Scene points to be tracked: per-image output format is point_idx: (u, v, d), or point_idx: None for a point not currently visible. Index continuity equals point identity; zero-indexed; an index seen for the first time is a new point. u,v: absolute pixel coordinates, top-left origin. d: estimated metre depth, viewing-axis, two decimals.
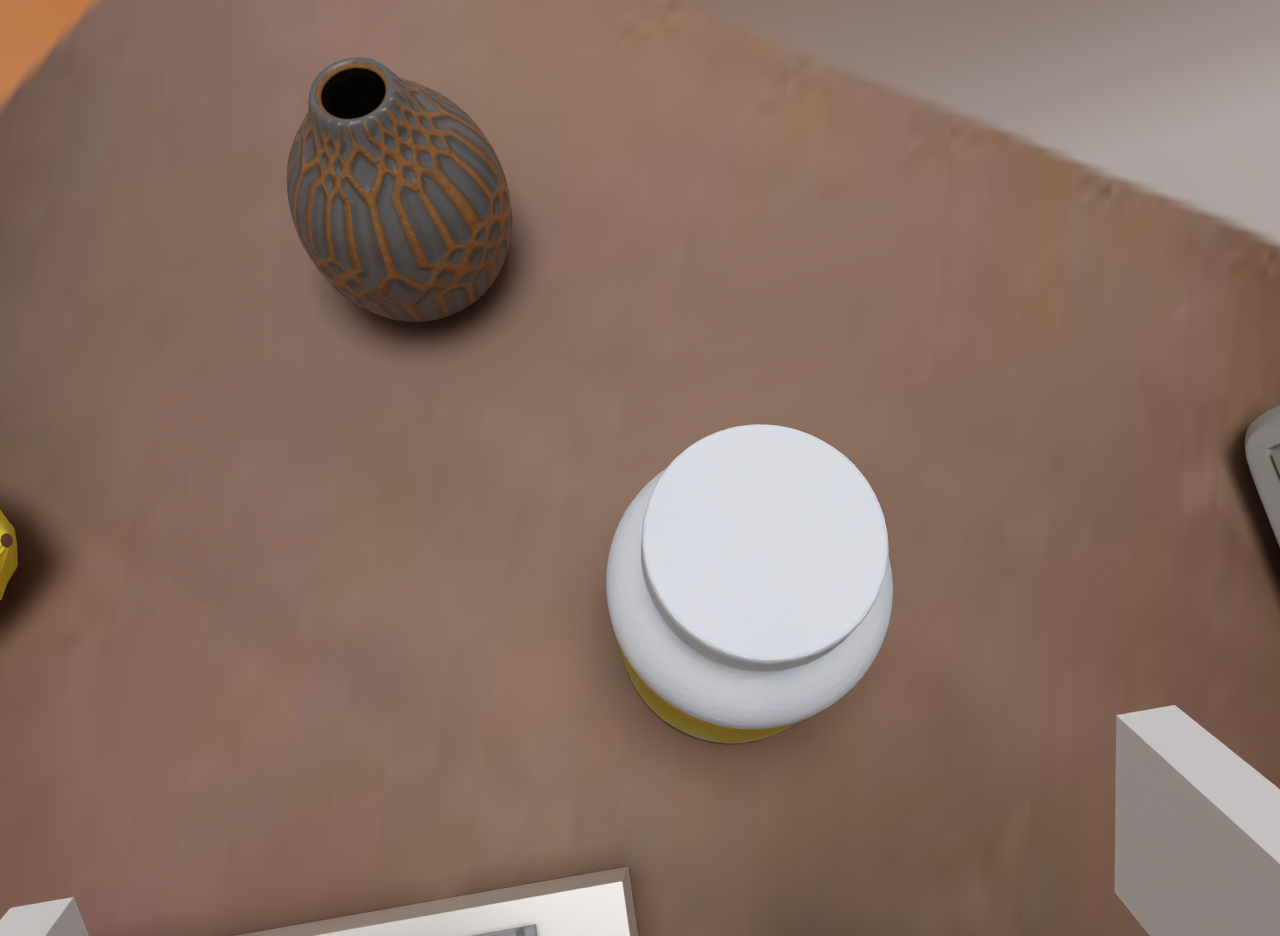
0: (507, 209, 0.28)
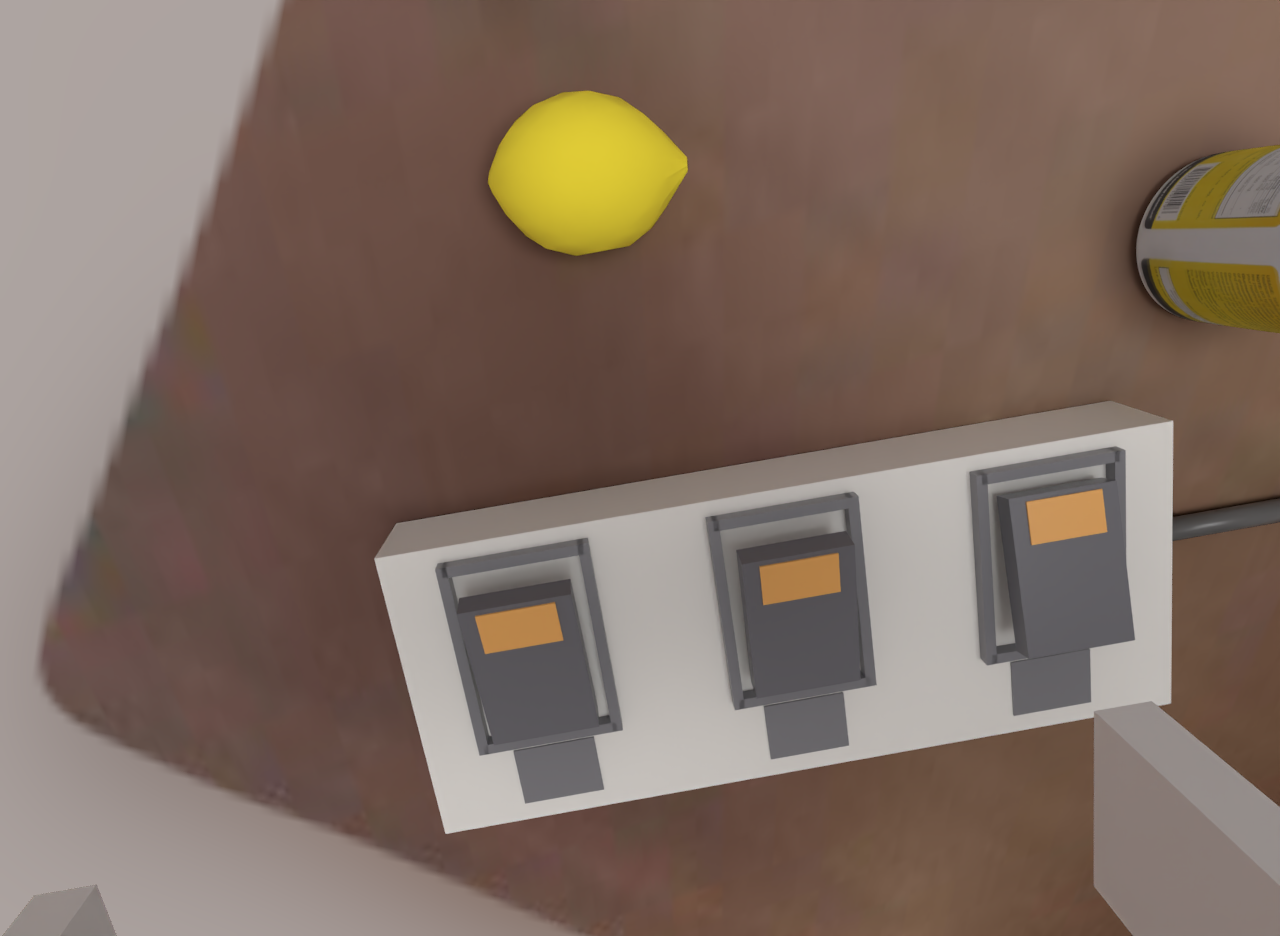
0: None
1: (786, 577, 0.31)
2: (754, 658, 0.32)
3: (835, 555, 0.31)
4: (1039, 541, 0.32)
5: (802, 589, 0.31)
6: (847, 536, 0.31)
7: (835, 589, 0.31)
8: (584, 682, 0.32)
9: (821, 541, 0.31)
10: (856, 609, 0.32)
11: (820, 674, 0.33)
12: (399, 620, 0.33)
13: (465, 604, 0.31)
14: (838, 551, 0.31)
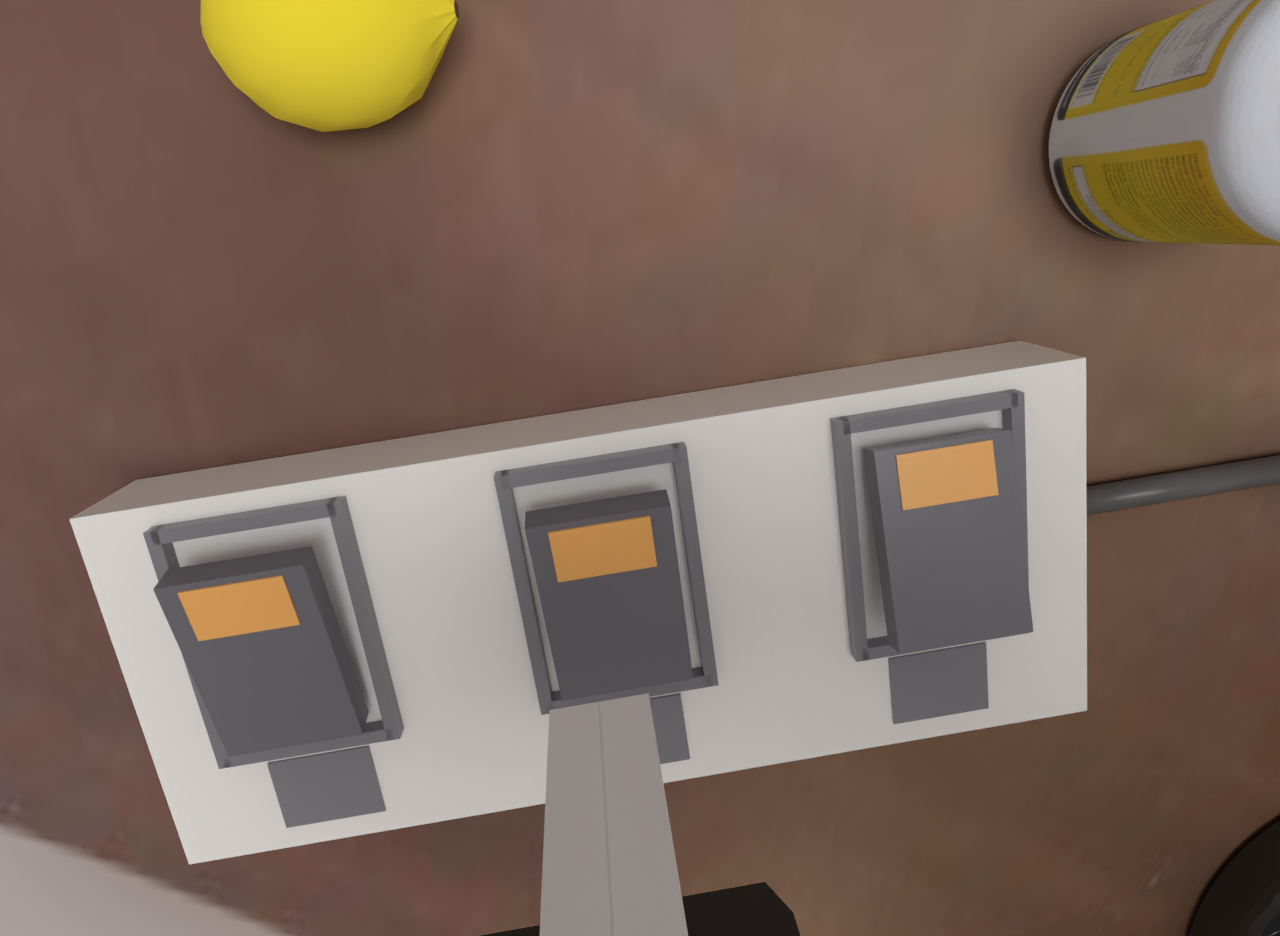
0: None
1: (584, 546, 0.24)
2: (553, 650, 0.25)
3: (646, 519, 0.24)
4: (912, 505, 0.25)
5: (607, 562, 0.24)
6: (665, 495, 0.24)
7: (649, 563, 0.24)
8: (336, 678, 0.25)
9: (631, 502, 0.24)
10: (680, 589, 0.25)
11: (641, 671, 0.26)
12: (108, 598, 0.26)
13: (171, 576, 0.24)
14: (649, 513, 0.24)
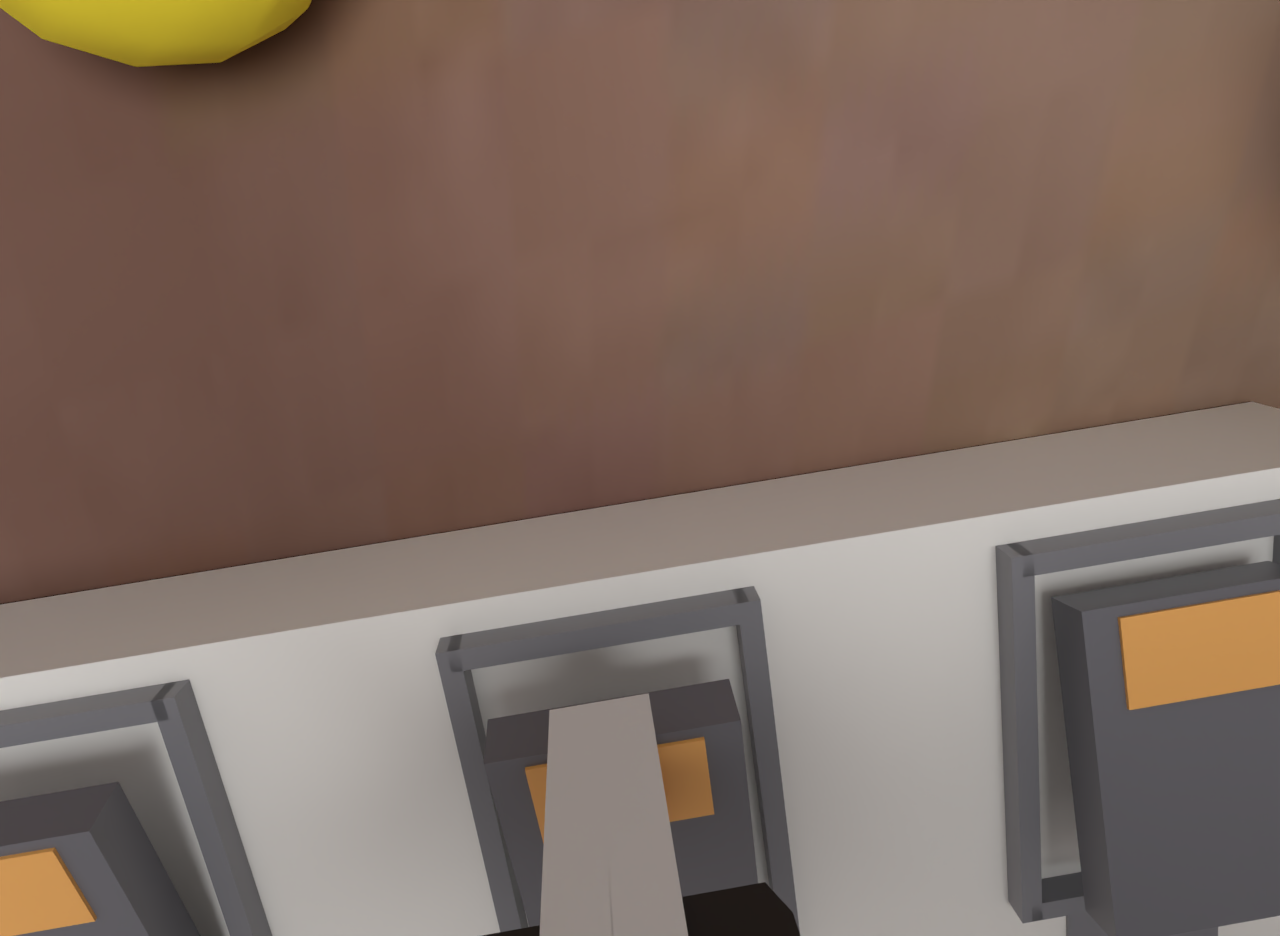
0: None
1: None
2: None
3: (698, 742, 0.14)
4: (1145, 700, 0.15)
5: None
6: (729, 694, 0.14)
7: (701, 810, 0.14)
8: None
9: (670, 707, 0.14)
10: (751, 845, 0.15)
11: None
12: None
13: None
14: (704, 733, 0.14)
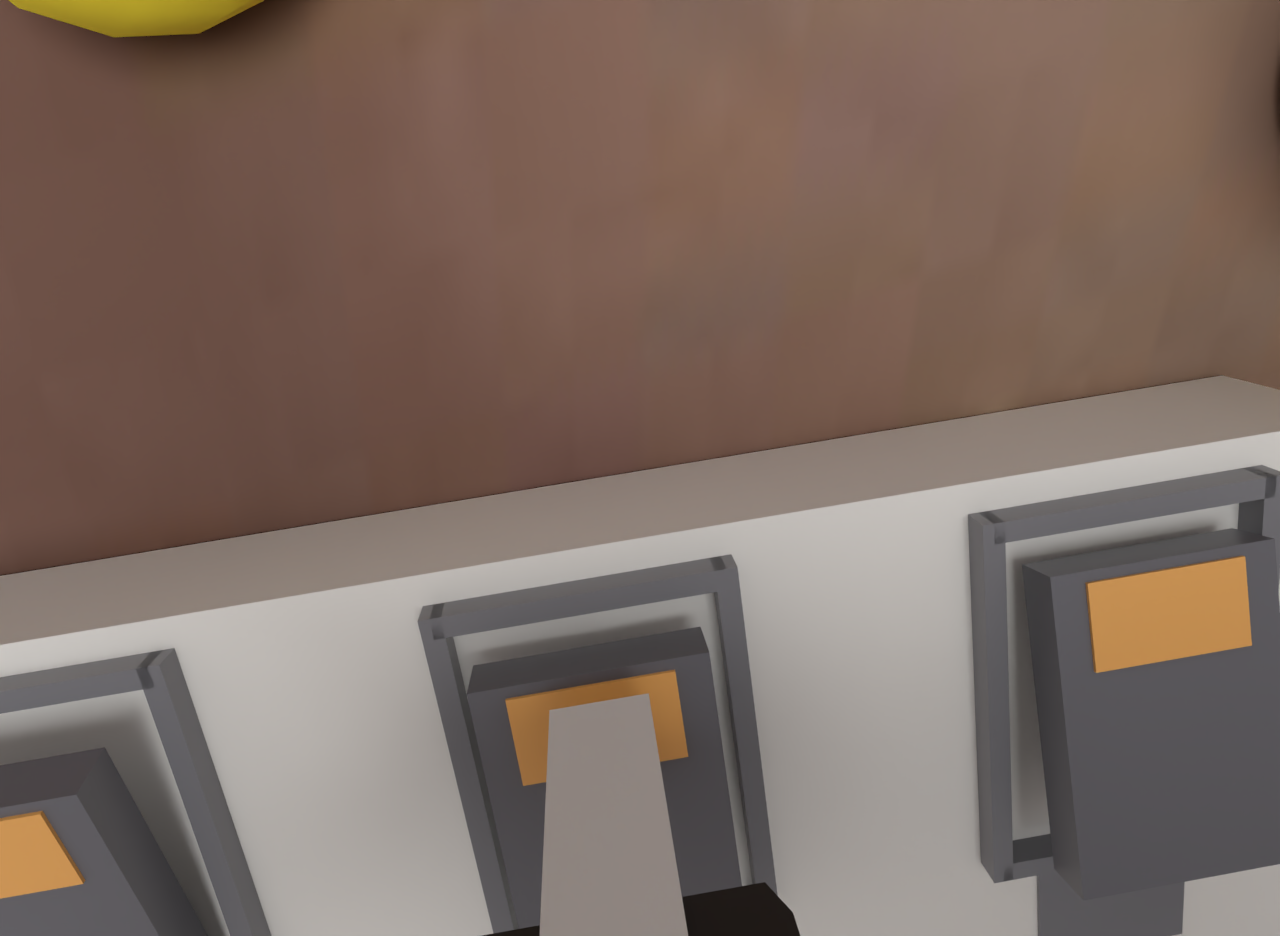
0: None
1: None
2: (517, 903, 0.15)
3: (669, 675, 0.14)
4: (1111, 664, 0.15)
5: None
6: (699, 636, 0.15)
7: (675, 751, 0.15)
8: None
9: (644, 648, 0.15)
10: (727, 796, 0.15)
11: None
12: None
13: None
14: (674, 666, 0.14)
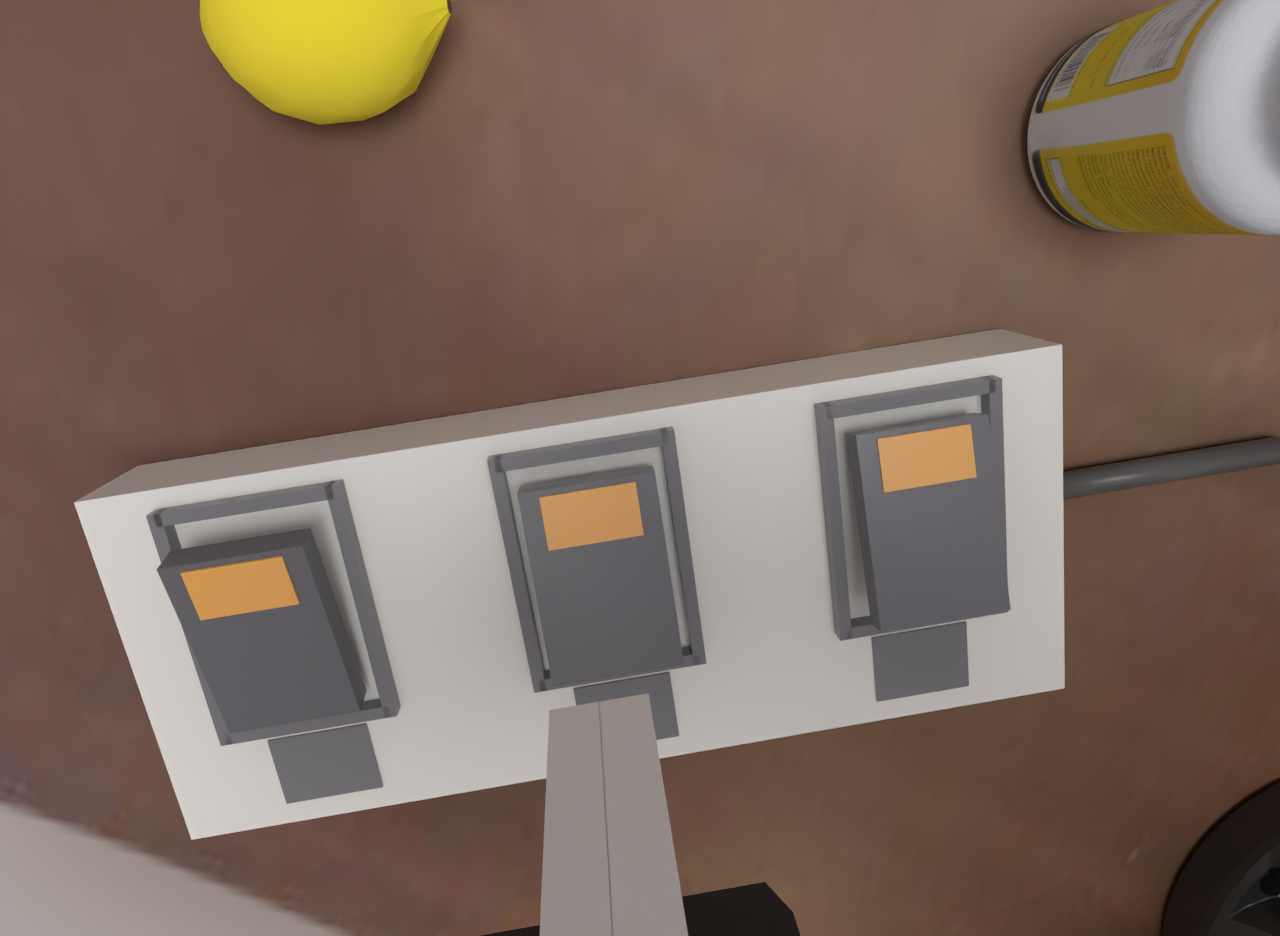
0: None
1: (573, 512, 0.25)
2: (543, 627, 0.26)
3: (632, 485, 0.25)
4: (893, 487, 0.26)
5: (595, 530, 0.25)
6: (651, 468, 0.26)
7: (636, 531, 0.25)
8: (334, 656, 0.26)
9: (618, 473, 0.26)
10: (667, 561, 0.26)
11: (631, 654, 0.26)
12: (112, 579, 0.27)
13: (173, 557, 0.25)
14: (635, 479, 0.25)
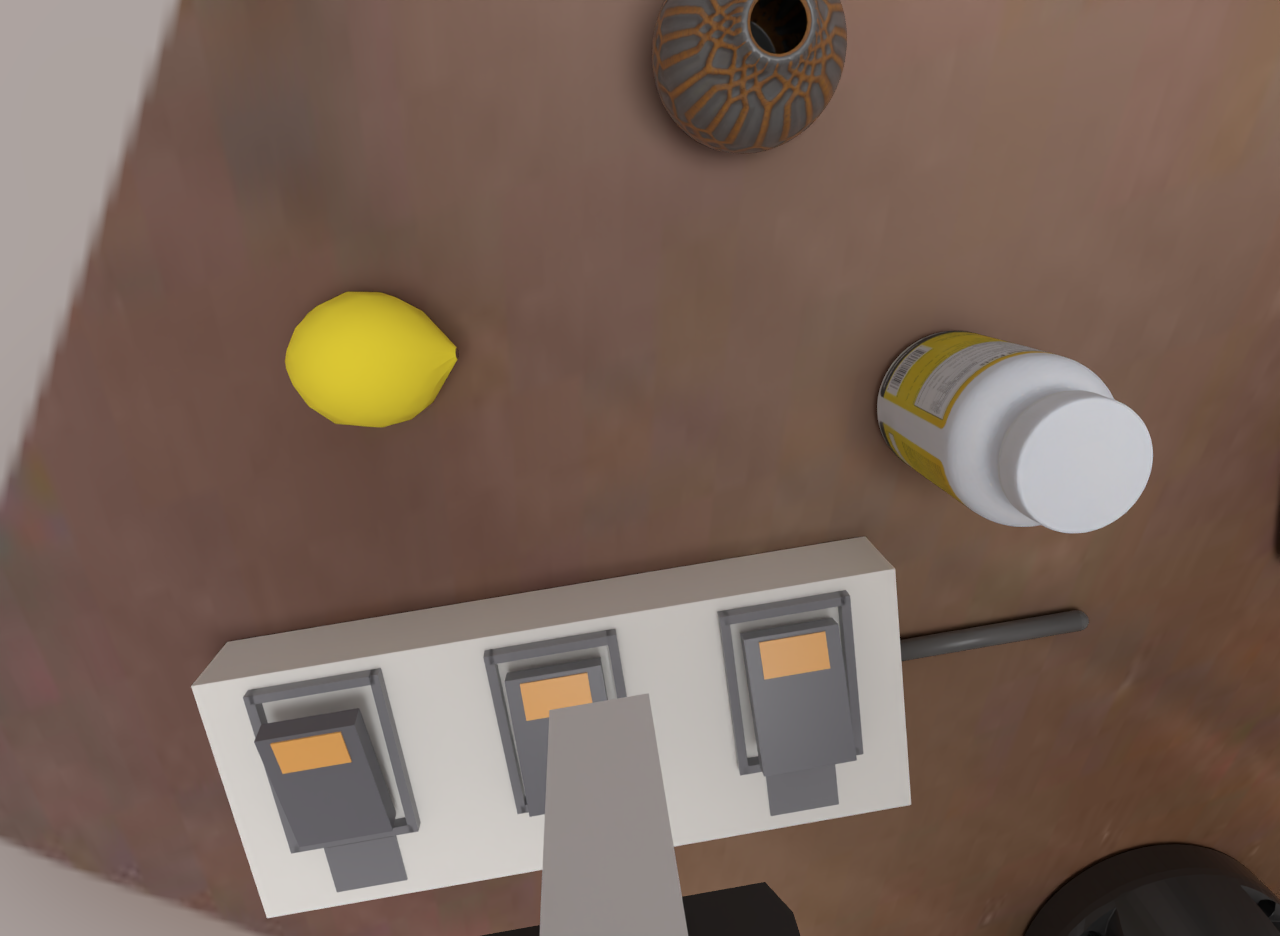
0: None
1: (544, 694, 0.36)
2: (523, 774, 0.36)
3: (585, 674, 0.36)
4: (770, 675, 0.36)
5: (559, 706, 0.36)
6: (599, 660, 0.37)
7: None
8: (375, 795, 0.37)
9: (576, 664, 0.37)
10: None
11: None
12: (216, 737, 0.37)
13: (264, 731, 0.35)
14: (587, 670, 0.36)
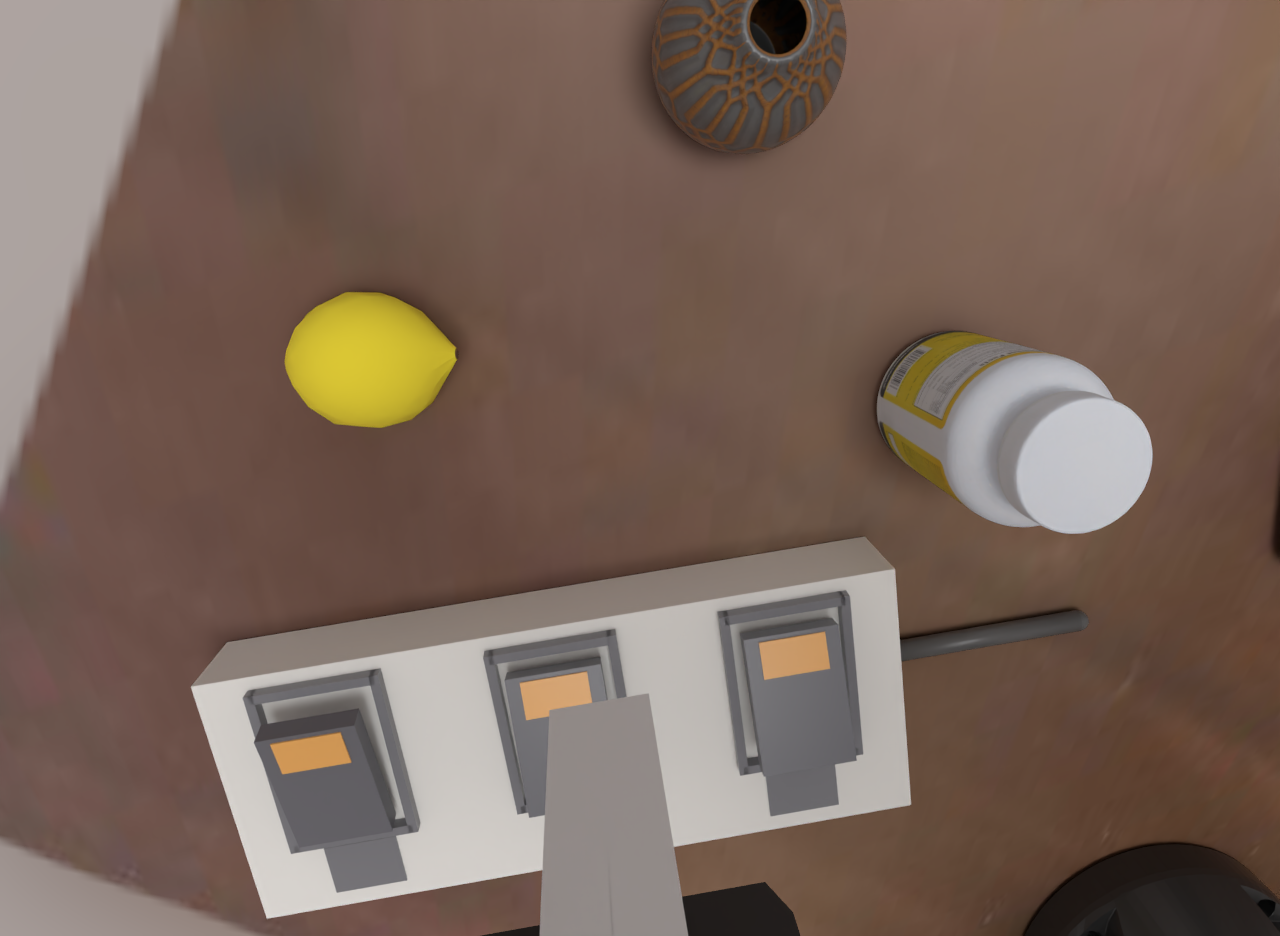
0: None
1: (543, 693, 0.36)
2: (523, 774, 0.36)
3: (584, 673, 0.36)
4: (770, 676, 0.36)
5: (559, 705, 0.36)
6: (599, 659, 0.37)
7: None
8: (374, 795, 0.37)
9: (576, 663, 0.37)
10: None
11: None
12: (216, 738, 0.37)
13: (264, 731, 0.35)
14: (586, 669, 0.36)
